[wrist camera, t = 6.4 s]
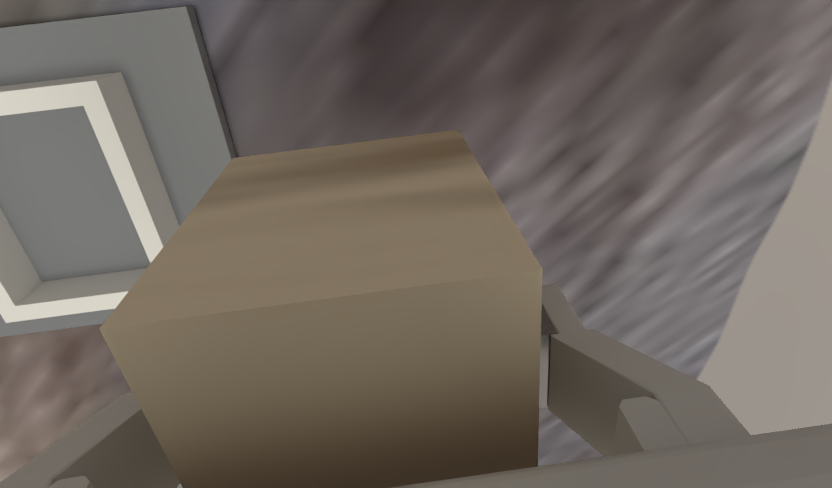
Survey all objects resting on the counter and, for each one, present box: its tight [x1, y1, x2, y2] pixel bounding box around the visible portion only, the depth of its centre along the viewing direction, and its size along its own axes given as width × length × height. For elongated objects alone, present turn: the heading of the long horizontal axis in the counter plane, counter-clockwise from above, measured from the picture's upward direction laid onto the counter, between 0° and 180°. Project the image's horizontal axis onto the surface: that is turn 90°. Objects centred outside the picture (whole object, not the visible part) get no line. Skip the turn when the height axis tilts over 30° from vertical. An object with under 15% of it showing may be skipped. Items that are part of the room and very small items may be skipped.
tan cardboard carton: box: [99, 130, 543, 488], centre depth 10 cm, size 7×5×6 cm
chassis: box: [0, 6, 237, 337], centre depth 26 cm, size 17×18×4 cm
